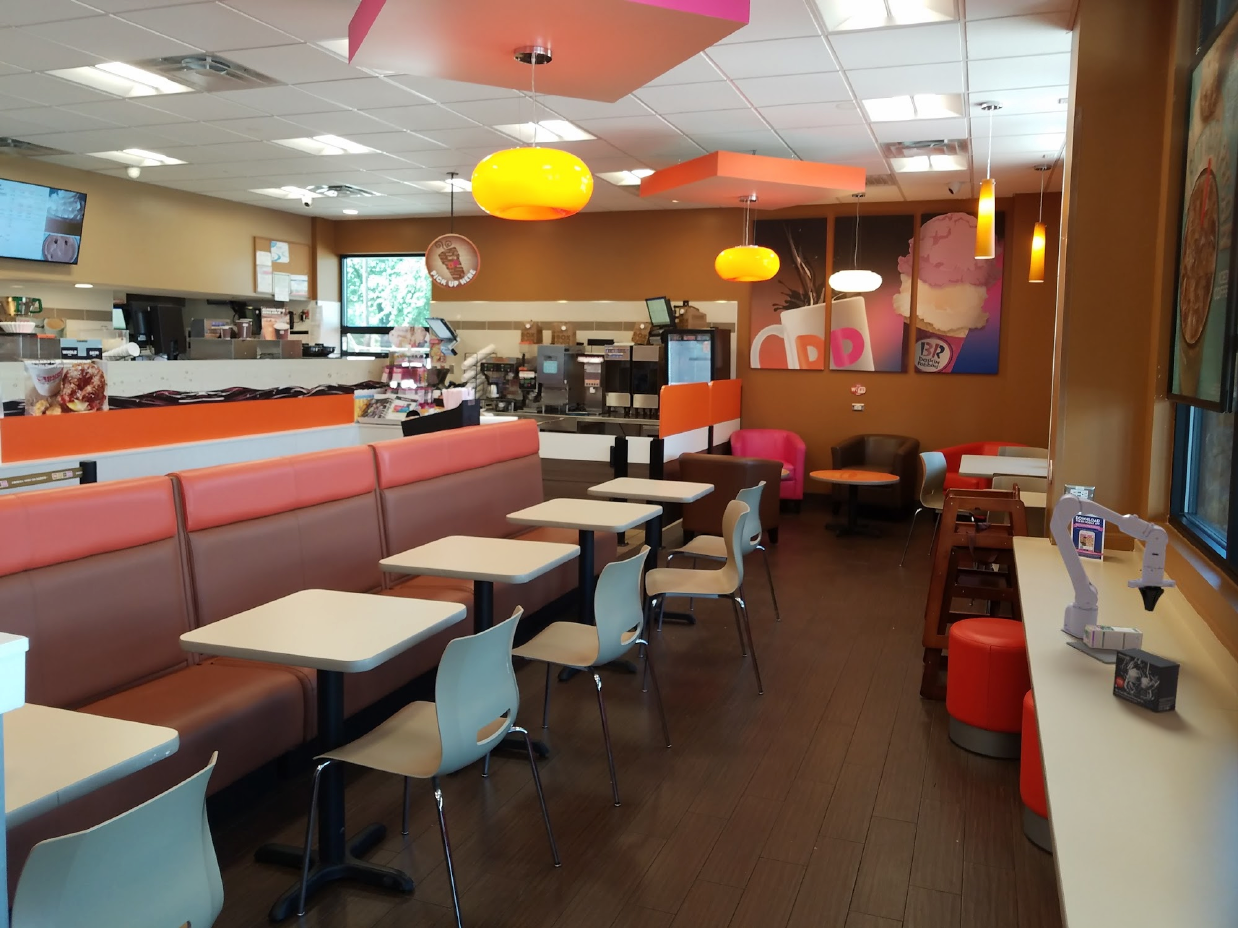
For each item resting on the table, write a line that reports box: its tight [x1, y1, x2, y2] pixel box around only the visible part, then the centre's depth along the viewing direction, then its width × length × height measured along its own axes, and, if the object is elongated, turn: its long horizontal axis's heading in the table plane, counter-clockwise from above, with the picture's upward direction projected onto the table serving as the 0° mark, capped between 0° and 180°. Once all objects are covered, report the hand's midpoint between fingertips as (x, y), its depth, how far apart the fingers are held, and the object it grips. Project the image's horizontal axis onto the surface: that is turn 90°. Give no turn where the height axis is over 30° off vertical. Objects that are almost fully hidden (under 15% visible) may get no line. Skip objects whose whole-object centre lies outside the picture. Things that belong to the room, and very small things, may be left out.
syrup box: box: [1082, 624, 1144, 650], centre depth 281 cm, size 6×6×14 cm
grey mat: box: [1065, 641, 1117, 664], centre depth 277 cm, size 18×16×1 cm
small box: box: [1112, 648, 1181, 714], centre depth 238 cm, size 13×7×12 cm, turn 21°
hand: (1148, 610), depth 286 cm, fingers closed
